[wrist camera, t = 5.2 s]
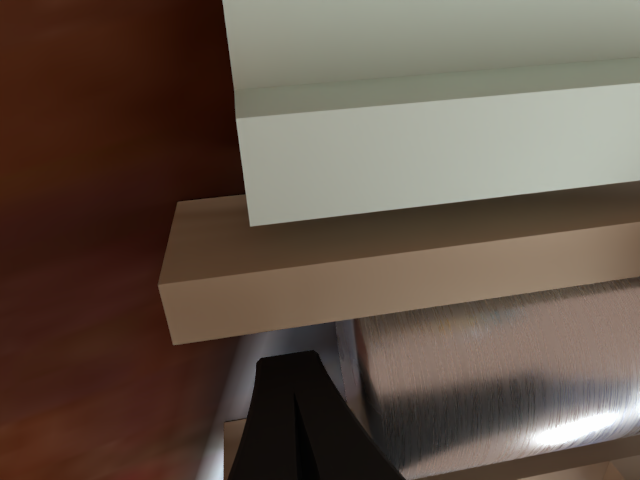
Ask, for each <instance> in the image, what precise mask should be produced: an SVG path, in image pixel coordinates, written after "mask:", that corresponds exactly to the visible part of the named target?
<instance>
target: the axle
mask: <svg viewBox="0 0 640 480" xmlns="http://www.w3.org/2000/svg"><path fill="white" fill-rule="evenodd" d="M336 332H337V342H338V350H339V357H340V364H341V371H342V377H343V383H344V388H345V393H346V399H347V403H348V407H349V408H350V409H351V411H352V412H353V414H354V415H355V416H356V418H357V419H358V421H359V422H360V423H361V425H362V426H363V428H364V429H365V430H366V432H367V433H368V434H369V436H370V437H371V438H372V439H373V441H374V442H375V443H376V444H377V446H378V447H379V448H380V449H381V451H382V452H383V453H384V454H385V456H386V457H387V458H388V459H389V460H390V462H391V463H392V464H393V465H394V466H395V468H396V469H397V470H398V471H399V472H400V473H401V474H402V476H403V477H404V478H405V479H406V480H414V479H419V478H424V477H429V476H434V475H439V474H444V473H449V472H454V471H459V470H464V469H469V468H474V467H479V466H484V465H489V464H494V463H499V462H504V461H509V460H514V459H519V458H524V457H529V456H534V455H539V454H544V453H549V452H554V451H559V450H564V449H570V448H575V447H580V446H585V445H590V444H595V443H600V442H605V441H610V440H615V439H620V438H625V437H630V436H635V435H640V277H633V278H627V279H620V280H613V281H606V282H599V283H593V284H586V285H579V286H572V287H566V288H559V289H552V290H545V291H538V292H532V293H525V294H518V295H511V296H504V297H498V298H491V299H484V300H477V301H471V302H464V303H457V304H450V305H443V306H437V307H430V308H423V309H416V310H409V311H403V312H396V313H389V314H382V315H376V316H369V317H362V318H355V319H348V320H342V321H336Z"/></svg>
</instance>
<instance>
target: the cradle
mask: <svg viewBox="0 0 640 480" xmlns="http://www.w3.org/2000/svg"><path fill="white" fill-rule="evenodd" d="M222 1H223V9H224V16H225V24H226V32H227V39H228V47H229V55H230V62H231V70H232V77H233V85H234V96H235V113H236V124H237V131H238V139H239V146H240V154H241V161H242V169H243V176H244V184H245V191H246V199H247V206H248V214H249V221H250V227H251V226H259V225H268V224H276V223H284V222H293V221H301V220H310V219H318V218H327V217H335V216H344V215H352V214H360V213H369V212H377V211H386V210H394V209H403V208H411V207H420V206H428V205H437V204H445V203H453V202H462V201H470V200H479V199H487V198H496V197H504V196H513V195H521V194H529V193H538V192H546V191H555V190H563V189H572V188H580V187H589V186H597V185H605V184H614V183H622V182H631V181H639V180H640V0H222Z"/></svg>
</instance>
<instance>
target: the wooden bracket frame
mask: <svg viewBox="0 0 640 480" xmlns="http://www.w3.org/2000/svg"><path fill="white" fill-rule="evenodd" d="M633 277H640V180H639V181H631V182H622V183H614V184H605V185H597V186H589V187H580V188H572V189H563V190H555V191H546V192H538V193H529V194H521V195H513V196H504V197H496V198H487V199H479V200H470V201H462V202H453V203H445V204H437V205H428V206H420V207H411V208H403V209H394V210H386V211H377V212H369V213H360V214H352V215H344V216H335V217H327V218H318V219H310V220H301V221H293V222H284V223H276V224H268V225H259V226H251V227H250V221H249V214H248V206H247V199H246V194H244V195H234V196H225V197H216V198H207V199H198V200H189V201H180V202H177V206H176V210H175V214H174V218H173V223H172V227H171V231H170V235H169V239H168V244H167V248H166V252H165V256H164V260H163V265H162V269H161V273H160V277H159V282H158V288H159V292H160V296H161V300H162V304H163V307H164V311H165V315H166V319H167V323H168V327H169V331H170V335H171V339H172V342H173V345H179V344H186V343H192V342H199V341H206V340H213V339H220V338H226V337H233V336H240V335H247V334H253V333H260V332H267V331H274V330H281V329H287V328H294V327H301V326H308V325H314V324H321V323H328V322H335V321H342V320H348V319H355V318H362V317H369V316H376V315H382V314H389V313H396V312H403V311H409V310H416V309H423V308H430V307H437V306H443V305H450V304H457V303H464V302H471V301H477V300H484V299H491V298H498V297H504V296H511V295H518V294H525V293H532V292H538V291H545V290H552V289H559V288H566V287H572V286H579V285H586V284H593V283H599V282H606V281H613V280H620V279H627V278H633ZM346 404H347V405H348V403H347V402H346ZM245 423H246V419H243V420H237V421H231V422H225V423H224V480H227V479H228V476H229V473H230V470H231V467H232V464H233V462H234V459H235V456H236V453H237V450H238V447H239V444H240V441H241V437H242V434H243V430H244V426H245ZM414 480H640V435H635V436H630V437H625V438H620V439H615V440H610V441H605V442H600V443H595V444H590V445H585V446H580V447H575V448H570V449H564V450H559V451H554V452H549V453H544V454H539V455H534V456H529V457H524V458H519V459H514V460H509V461H504V462H499V463H494V464H489V465H484V466H479V467H474V468H469V469H464V470H459V471H454V472H449V473H444V474H439V475H434V476H429V477H424V478H419V479H414Z"/></svg>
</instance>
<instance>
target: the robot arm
mask: <svg viewBox="0 0 640 480" xmlns="http://www.w3.org/2000/svg"><path fill="white" fill-rule="evenodd" d="M227 480H406V479H405V478H404V477H403V476H402V474H401V473H400V472H399V471H398V470H397V469H396V468H395V466H394V465H393V464H392V463H391V462H390V460H389V459H388V458H387V457H386V456H385V454H384V453H383V452H382V451H381V449H380V448H379V447H378V446H377V444H376V443H375V442H374V441H373V439H372V438H371V437H370V436H369V434H368V433H367V432H366V430H365V429H364V428H363V426H362V425H361V423H360V422H359V421H358V419H357V418H356V416H355V415H354V414H353V412H352V411H351V409H350V408H349V407H348V405H347V404H346V402H345V401H344V399H343V398H342V396H341V395H340V393H339V391H338V390H337V388H336V387H335V385H334V383H333V382H332V380H331V378H330V376H329V375H328V373H327V371H326V369H325V367H324V365H323V363H322V361H321V359H320V357H319V354H318V353H317V352H315V351H314V350H310V351H303V352H297V353H291V354H284V355H278V356H271V357H265V358H261V359H260V360H259V361H258V362H257V363H256V377H255V384H254V390H253V395H252V399H251V404H250V408H249V412H248V416H247V419H246V423H245V426H244V430H243V434H242V437H241V441H240V444H239V447H238V450H237V453H236V456H235V459H234V462H233V464H232V467H231V470H230V473H229V476H228V479H227Z"/></svg>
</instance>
